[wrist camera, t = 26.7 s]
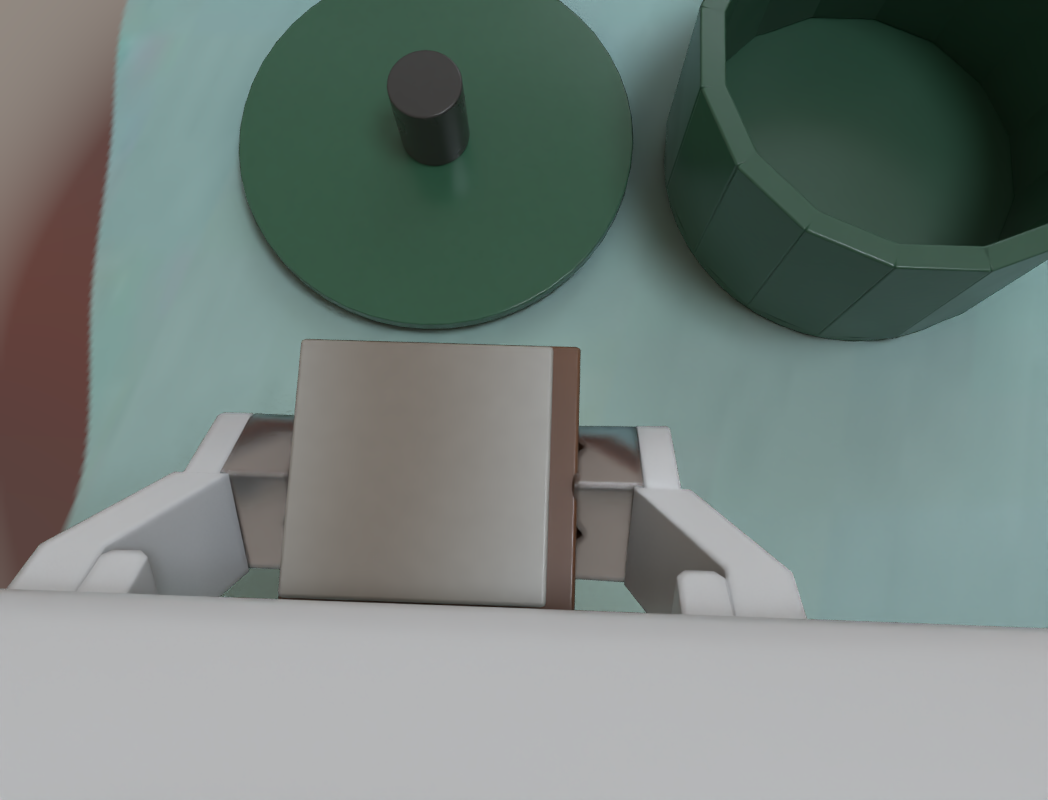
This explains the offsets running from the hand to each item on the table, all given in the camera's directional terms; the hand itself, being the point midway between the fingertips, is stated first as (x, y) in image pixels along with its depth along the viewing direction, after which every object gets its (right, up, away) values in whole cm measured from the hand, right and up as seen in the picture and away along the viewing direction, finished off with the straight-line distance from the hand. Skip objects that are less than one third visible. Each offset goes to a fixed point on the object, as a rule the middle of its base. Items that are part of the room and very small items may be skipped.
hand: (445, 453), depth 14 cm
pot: (+14, +10, +20) cm, 26 cm away
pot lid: (-2, +11, +20) cm, 23 cm away
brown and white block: (0, -2, +5) cm, 5 cm away
